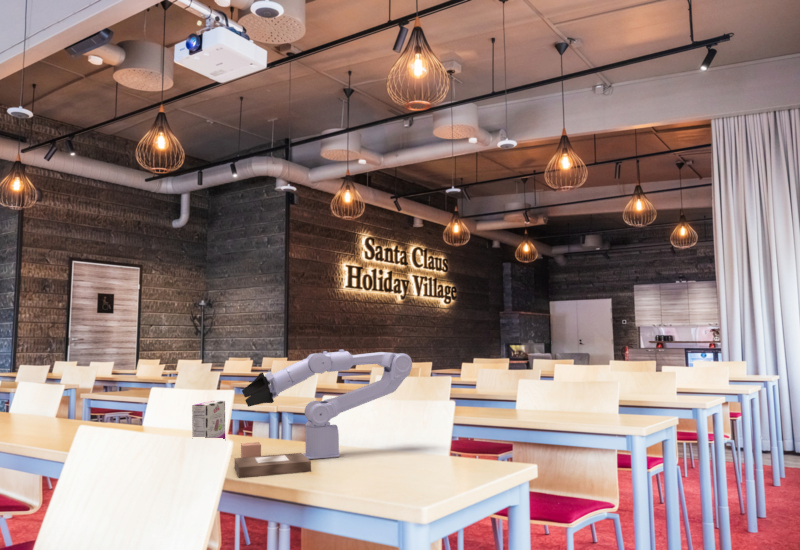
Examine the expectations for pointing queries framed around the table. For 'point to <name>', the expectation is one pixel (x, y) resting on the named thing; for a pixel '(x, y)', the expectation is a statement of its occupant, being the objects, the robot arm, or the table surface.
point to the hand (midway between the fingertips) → (244, 398)
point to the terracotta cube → (250, 449)
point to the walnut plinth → (272, 465)
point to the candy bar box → (209, 419)
